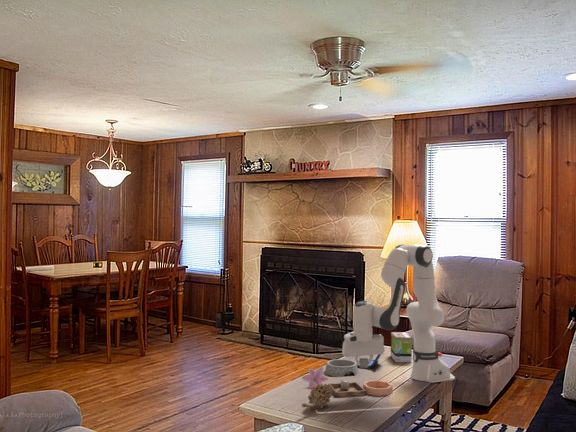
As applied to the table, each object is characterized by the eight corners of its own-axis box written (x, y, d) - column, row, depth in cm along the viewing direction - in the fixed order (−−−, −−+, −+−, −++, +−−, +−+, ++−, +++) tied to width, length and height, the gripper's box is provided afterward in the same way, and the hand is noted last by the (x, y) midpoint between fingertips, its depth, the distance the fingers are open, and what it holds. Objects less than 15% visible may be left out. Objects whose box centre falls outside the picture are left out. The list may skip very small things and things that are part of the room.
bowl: (385, 387, 259) (385, 379, 259) (395, 396, 246) (395, 388, 246) (360, 389, 256) (360, 381, 257) (369, 397, 244) (369, 389, 244)
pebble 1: (347, 387, 256) (347, 379, 256) (349, 390, 252) (350, 382, 252) (339, 388, 255) (339, 380, 255) (342, 390, 251) (342, 382, 251)
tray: (356, 387, 259) (356, 382, 259) (366, 396, 245) (366, 390, 245) (328, 389, 256) (328, 383, 256) (336, 398, 242) (336, 392, 242)
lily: (298, 388, 260) (299, 374, 255) (311, 374, 268) (312, 360, 264) (318, 400, 254) (319, 386, 249) (331, 385, 262) (332, 371, 258)
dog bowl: (319, 370, 290) (319, 360, 290) (348, 366, 297) (348, 357, 297) (334, 378, 274) (334, 368, 274) (364, 374, 281) (364, 364, 281)
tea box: (412, 362, 305) (412, 337, 305) (394, 362, 305) (395, 337, 305) (406, 355, 320) (406, 331, 320) (390, 355, 320) (390, 331, 320)
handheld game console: (362, 361, 308) (362, 345, 308) (385, 363, 303) (385, 347, 303) (355, 368, 294) (355, 351, 294) (378, 370, 288) (378, 354, 289)
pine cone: (316, 400, 240) (316, 378, 240) (335, 404, 235) (336, 382, 235) (294, 416, 220) (294, 392, 220) (315, 420, 216) (315, 396, 216)
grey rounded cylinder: (366, 365, 252) (366, 357, 252) (369, 367, 248) (369, 359, 248) (358, 366, 251) (358, 357, 251) (361, 368, 247) (360, 359, 247)
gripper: (381, 332, 255) (381, 361, 255) (340, 335, 251) (341, 364, 251) (386, 335, 249) (386, 364, 249) (344, 338, 245) (345, 368, 245)
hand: (363, 364), depth 250 cm, fingers closed on grey rounded cylinder, 4 cm apart
